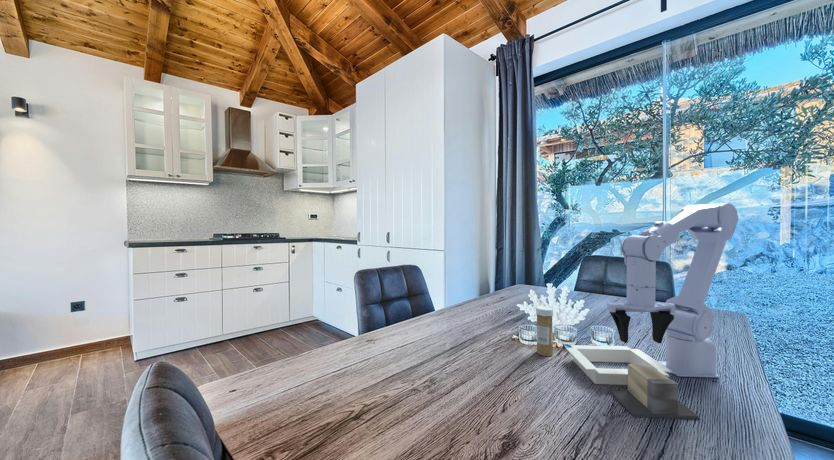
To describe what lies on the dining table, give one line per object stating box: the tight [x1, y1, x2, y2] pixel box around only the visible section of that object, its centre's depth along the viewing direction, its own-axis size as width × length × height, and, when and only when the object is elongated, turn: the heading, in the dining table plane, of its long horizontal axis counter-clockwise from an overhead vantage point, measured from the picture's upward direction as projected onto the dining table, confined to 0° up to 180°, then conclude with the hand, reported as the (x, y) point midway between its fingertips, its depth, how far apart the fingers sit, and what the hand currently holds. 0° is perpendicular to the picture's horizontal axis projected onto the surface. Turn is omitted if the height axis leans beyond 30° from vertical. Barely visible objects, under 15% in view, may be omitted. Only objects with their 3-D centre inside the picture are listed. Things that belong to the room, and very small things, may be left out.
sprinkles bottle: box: [535, 305, 554, 357], centre depth 95 cm, size 5×5×13 cm
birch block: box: [627, 363, 679, 415], centre depth 69 cm, size 5×9×6 cm, turn 176°
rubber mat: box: [610, 389, 700, 420], centre depth 68 cm, size 12×9×1 cm
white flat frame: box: [565, 344, 673, 386], centre depth 83 cm, size 19×17×4 cm
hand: (640, 341), depth 79 cm, fingers open, 7 cm apart
